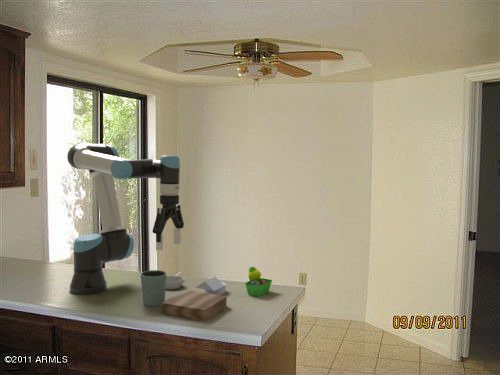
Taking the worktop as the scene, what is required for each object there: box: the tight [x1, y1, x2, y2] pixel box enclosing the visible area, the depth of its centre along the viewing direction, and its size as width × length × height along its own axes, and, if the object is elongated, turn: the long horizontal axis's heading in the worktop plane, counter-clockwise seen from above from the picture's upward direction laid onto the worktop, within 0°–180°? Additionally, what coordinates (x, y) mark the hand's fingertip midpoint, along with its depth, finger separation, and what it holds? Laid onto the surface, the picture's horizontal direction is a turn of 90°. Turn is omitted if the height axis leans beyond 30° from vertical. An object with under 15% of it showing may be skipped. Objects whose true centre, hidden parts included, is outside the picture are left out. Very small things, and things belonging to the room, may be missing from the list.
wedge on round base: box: [195, 276, 227, 295], centre depth 201 cm, size 9×7×13 cm
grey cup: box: [140, 269, 167, 307], centre depth 187 cm, size 10×10×12 cm
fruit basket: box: [244, 266, 273, 297], centre depth 203 cm, size 11×9×11 cm
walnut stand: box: [161, 289, 228, 322], centre depth 180 cm, size 18×18×4 cm
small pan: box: [165, 271, 184, 290], centre depth 214 cm, size 11×18×4 cm, turn 168°
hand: (168, 247), depth 189 cm, fingers open, 13 cm apart
